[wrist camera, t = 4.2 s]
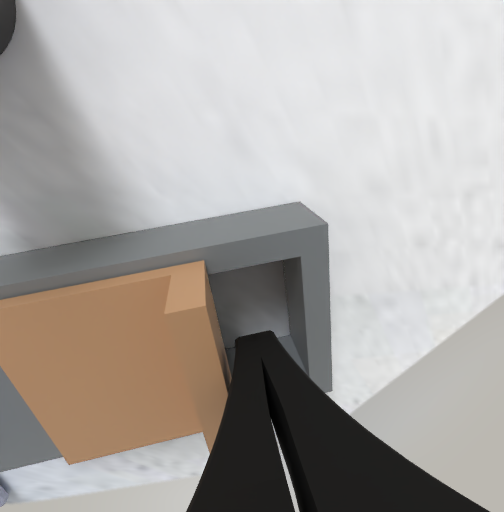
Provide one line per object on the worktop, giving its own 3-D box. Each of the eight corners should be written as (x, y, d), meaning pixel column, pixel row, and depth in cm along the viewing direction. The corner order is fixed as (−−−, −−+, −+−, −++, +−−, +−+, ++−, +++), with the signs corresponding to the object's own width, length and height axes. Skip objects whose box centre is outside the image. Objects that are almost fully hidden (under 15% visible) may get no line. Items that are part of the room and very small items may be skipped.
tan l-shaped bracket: (74, 449, 12) (44, 529, 10) (-21, 303, 9) (-101, 369, 6) (238, 409, 12) (247, 475, 10) (204, 260, 9) (205, 305, 7)
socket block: (19, 411, 14) (-22, 477, 12) (-82, 271, 11) (-174, 319, 8) (309, 345, 16) (332, 390, 13) (299, 201, 12) (328, 223, 10)
